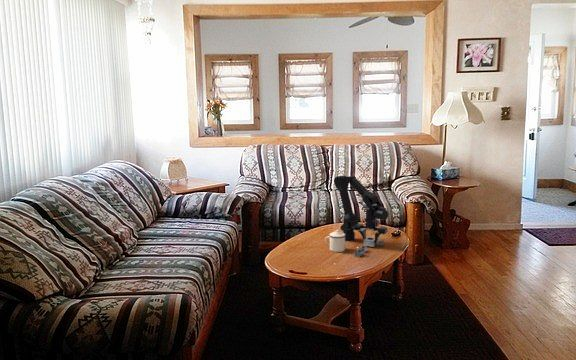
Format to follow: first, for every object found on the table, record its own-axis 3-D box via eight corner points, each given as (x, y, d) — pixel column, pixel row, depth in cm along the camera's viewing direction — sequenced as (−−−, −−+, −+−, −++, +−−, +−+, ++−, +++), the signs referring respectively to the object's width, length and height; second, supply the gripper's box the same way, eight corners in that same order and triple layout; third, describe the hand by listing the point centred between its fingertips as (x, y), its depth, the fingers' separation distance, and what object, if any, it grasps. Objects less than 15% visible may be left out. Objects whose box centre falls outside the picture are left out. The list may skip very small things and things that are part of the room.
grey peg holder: (369, 245, 284) (369, 236, 283) (370, 241, 292) (370, 232, 291) (383, 245, 282) (383, 237, 281) (383, 241, 290) (383, 233, 289)
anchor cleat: (359, 257, 264) (359, 248, 263) (354, 256, 265) (354, 247, 264) (363, 254, 268) (363, 246, 267) (358, 253, 269) (358, 245, 269)
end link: (373, 246, 278) (373, 240, 277) (363, 245, 281) (363, 239, 280) (377, 244, 283) (377, 238, 282) (367, 242, 286) (367, 236, 285)
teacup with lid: (347, 248, 278) (347, 228, 276) (342, 253, 270) (342, 233, 268) (328, 245, 284) (328, 226, 282) (322, 250, 276) (322, 230, 274)
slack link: (364, 252, 271) (364, 248, 270) (359, 252, 272) (359, 248, 271) (366, 250, 274) (366, 246, 274) (362, 250, 275) (362, 246, 275)
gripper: (391, 215, 281) (390, 241, 284) (361, 211, 291) (360, 237, 293) (384, 220, 272) (384, 246, 275) (353, 216, 281) (353, 242, 284)
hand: (370, 242), depth 282 cm, fingers closed on end link, 6 cm apart
